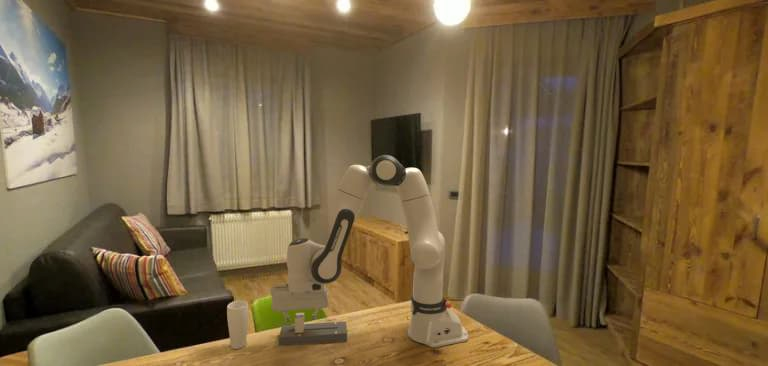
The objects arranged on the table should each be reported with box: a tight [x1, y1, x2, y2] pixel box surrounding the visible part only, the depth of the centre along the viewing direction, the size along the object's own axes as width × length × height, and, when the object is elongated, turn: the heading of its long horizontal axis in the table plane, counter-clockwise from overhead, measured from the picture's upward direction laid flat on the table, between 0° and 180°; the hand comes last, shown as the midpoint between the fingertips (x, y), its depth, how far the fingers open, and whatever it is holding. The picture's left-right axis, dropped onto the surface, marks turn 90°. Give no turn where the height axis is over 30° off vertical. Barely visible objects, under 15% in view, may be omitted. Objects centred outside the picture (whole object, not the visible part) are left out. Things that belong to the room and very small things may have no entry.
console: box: [278, 321, 348, 347], centre depth 133 cm, size 24×9×3 cm, turn 99°
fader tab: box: [294, 312, 305, 333], centre depth 132 cm, size 3×5×5 cm, turn 9°
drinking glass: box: [226, 300, 249, 350], centre depth 126 cm, size 7×7×15 cm
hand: (301, 320), depth 132 cm, fingers open, 8 cm apart
